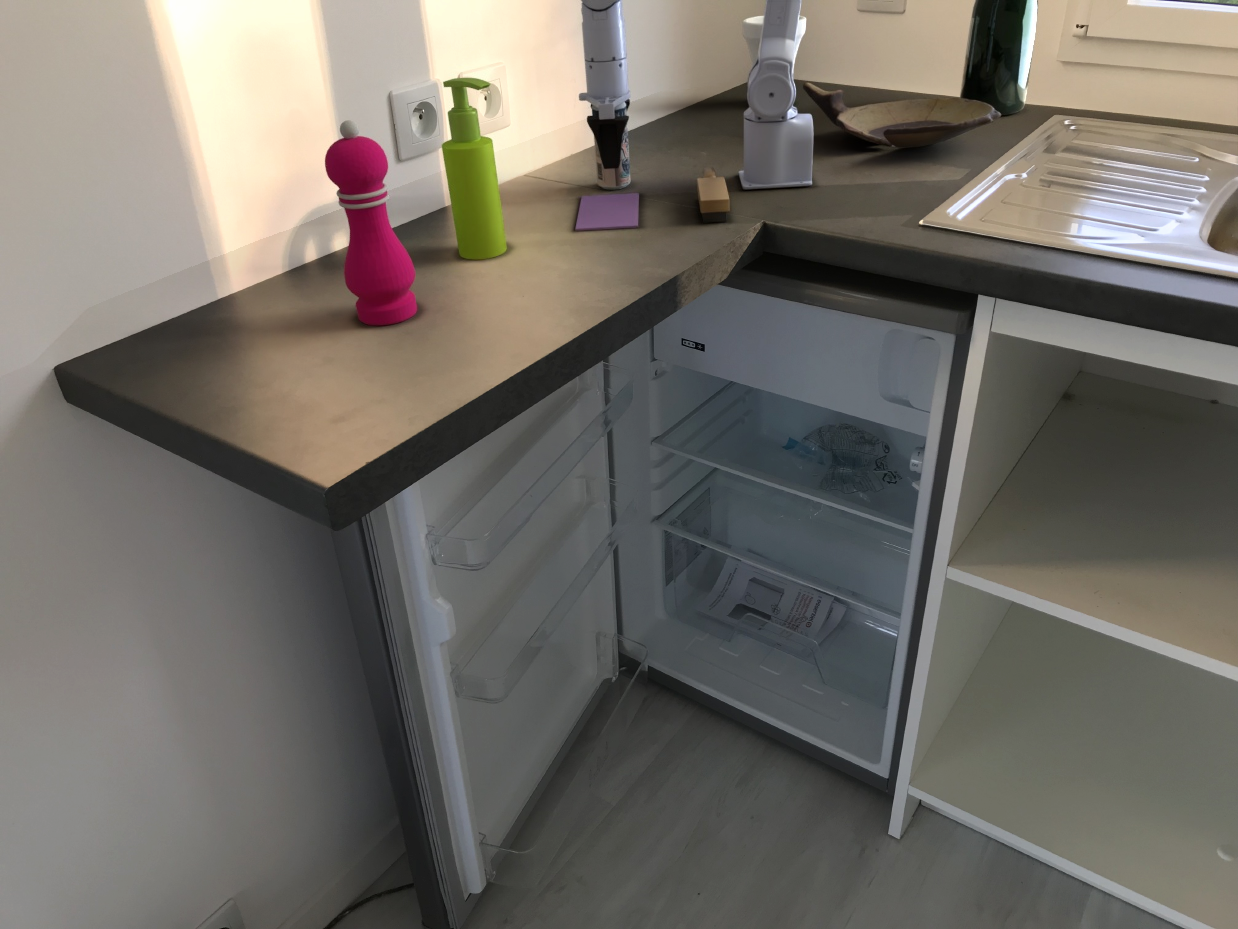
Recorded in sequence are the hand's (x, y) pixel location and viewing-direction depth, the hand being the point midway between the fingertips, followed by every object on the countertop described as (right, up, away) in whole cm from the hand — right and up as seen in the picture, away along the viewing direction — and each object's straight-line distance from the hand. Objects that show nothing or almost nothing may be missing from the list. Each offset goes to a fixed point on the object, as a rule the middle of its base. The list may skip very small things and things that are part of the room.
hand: (612, 160), depth 134 cm
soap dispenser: (-15, -17, -18) cm, 29 cm away
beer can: (0, -3, +2) cm, 4 cm away
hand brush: (+13, -8, -8) cm, 18 cm away
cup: (+29, +24, +41) cm, 56 cm away
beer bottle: (+64, +17, +25) cm, 71 cm away
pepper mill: (-24, -27, -33) cm, 49 cm away
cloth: (-1, -10, -8) cm, 13 cm away
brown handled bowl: (+45, +7, +13) cm, 47 cm away
